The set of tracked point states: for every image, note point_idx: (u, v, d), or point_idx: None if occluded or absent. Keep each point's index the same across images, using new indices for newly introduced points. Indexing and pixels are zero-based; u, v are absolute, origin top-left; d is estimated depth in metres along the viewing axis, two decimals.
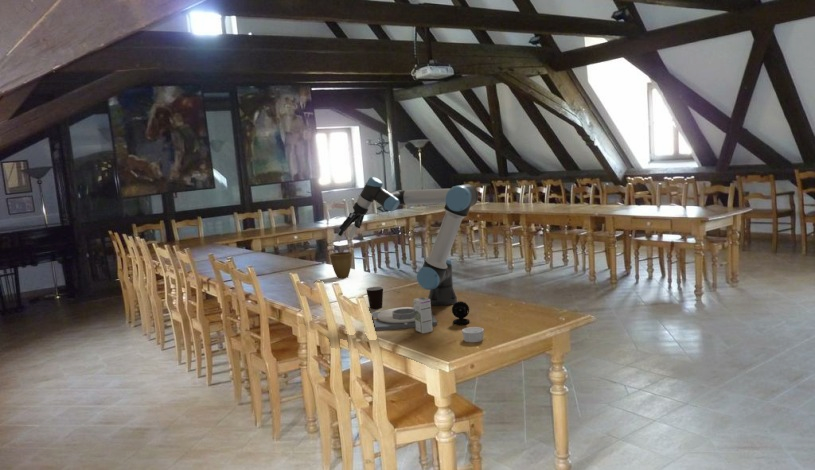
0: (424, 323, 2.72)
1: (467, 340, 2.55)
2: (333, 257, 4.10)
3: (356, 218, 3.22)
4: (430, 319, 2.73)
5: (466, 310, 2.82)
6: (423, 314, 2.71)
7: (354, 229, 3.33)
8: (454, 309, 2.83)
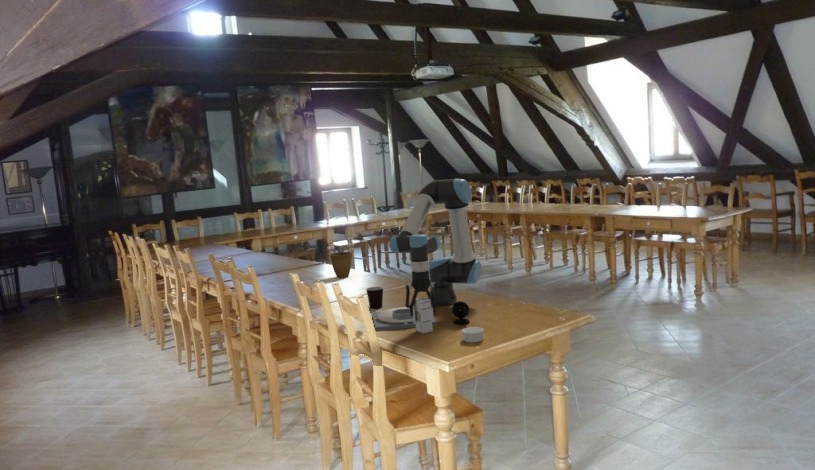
0: (424, 323, 2.72)
1: (467, 340, 2.55)
2: (333, 257, 4.10)
3: None
4: (430, 319, 2.73)
5: (466, 310, 2.82)
6: (423, 314, 2.71)
7: None
8: (454, 309, 2.83)
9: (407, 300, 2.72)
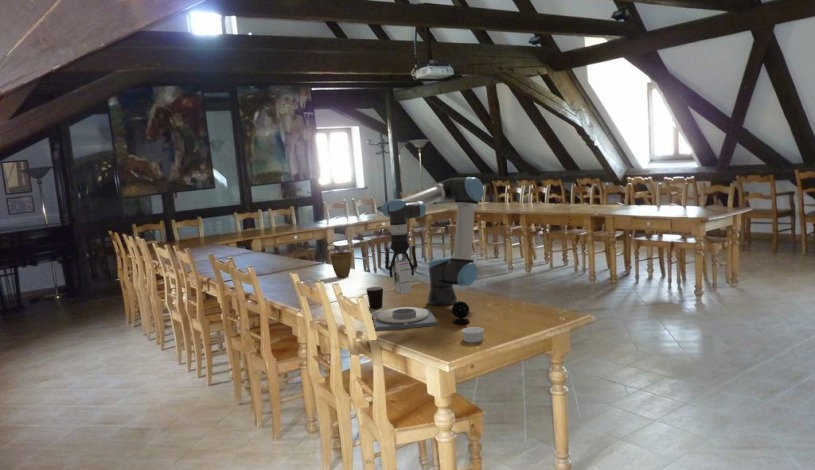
0: (403, 284, 2.85)
1: (467, 340, 2.55)
2: (333, 257, 4.10)
3: None
4: (409, 280, 2.86)
5: (466, 310, 2.82)
6: (402, 275, 2.84)
7: None
8: (454, 309, 2.83)
9: (386, 262, 2.85)
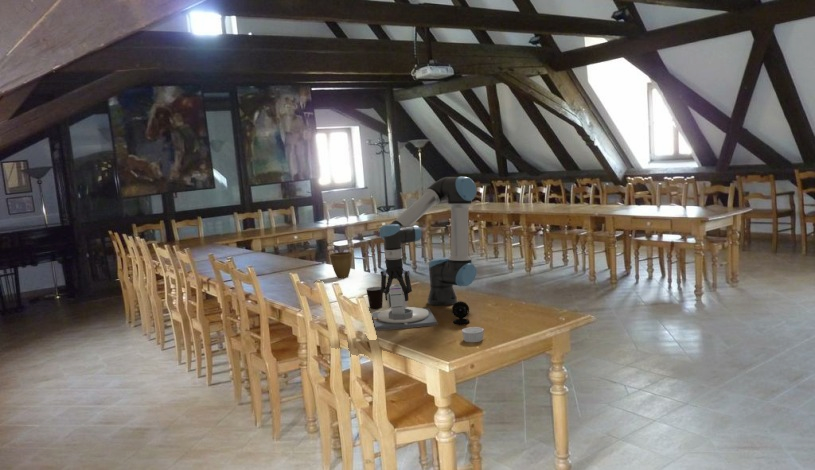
0: (394, 308, 2.87)
1: (467, 340, 2.55)
2: (333, 257, 4.10)
3: None
4: (401, 305, 2.86)
5: (466, 310, 2.82)
6: (394, 300, 2.86)
7: None
8: (454, 309, 2.83)
9: (382, 285, 2.90)
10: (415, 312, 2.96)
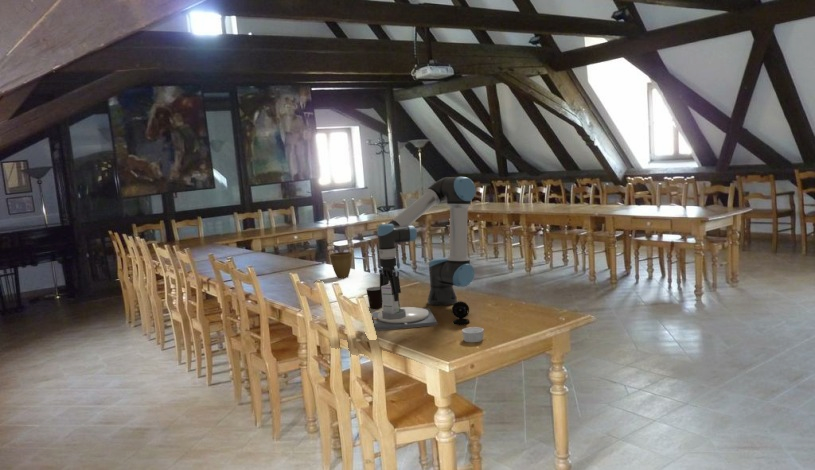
0: (385, 307, 2.90)
1: (467, 340, 2.55)
2: (333, 257, 4.10)
3: None
4: (391, 305, 2.88)
5: (466, 310, 2.82)
6: (384, 299, 2.89)
7: None
8: (454, 309, 2.83)
9: (380, 283, 2.95)
10: (413, 314, 2.93)
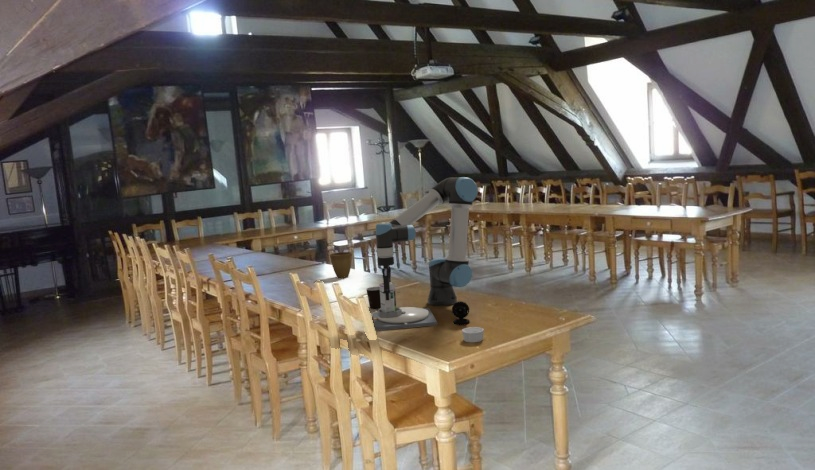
0: (381, 305, 2.95)
1: (467, 340, 2.55)
2: (333, 257, 4.10)
3: (389, 272, 2.91)
4: (384, 303, 2.92)
5: (466, 310, 2.82)
6: (381, 296, 2.95)
7: None
8: (454, 309, 2.83)
9: None
10: (408, 315, 2.91)
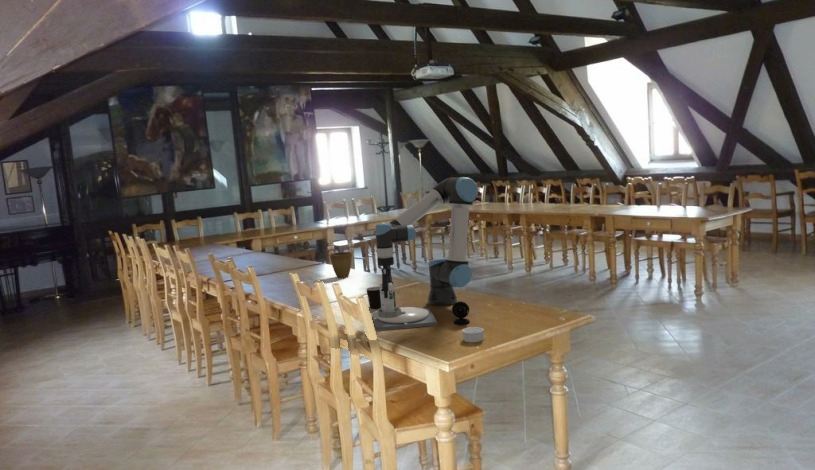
0: (381, 305, 2.96)
1: (467, 340, 2.55)
2: (333, 257, 4.10)
3: (389, 272, 2.91)
4: (383, 304, 2.93)
5: (466, 310, 2.82)
6: (381, 297, 2.95)
7: None
8: (454, 309, 2.83)
9: None
10: (407, 315, 2.91)
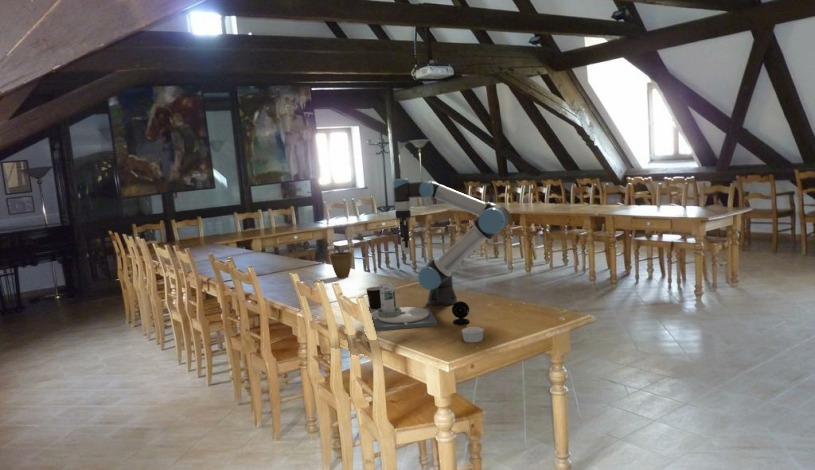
0: (381, 305, 2.96)
1: (467, 340, 2.55)
2: (333, 257, 4.10)
3: (407, 224, 3.12)
4: (383, 304, 2.93)
5: (466, 310, 2.82)
6: (381, 297, 2.95)
7: None
8: (454, 309, 2.83)
9: (400, 230, 3.23)
10: (407, 315, 2.91)
